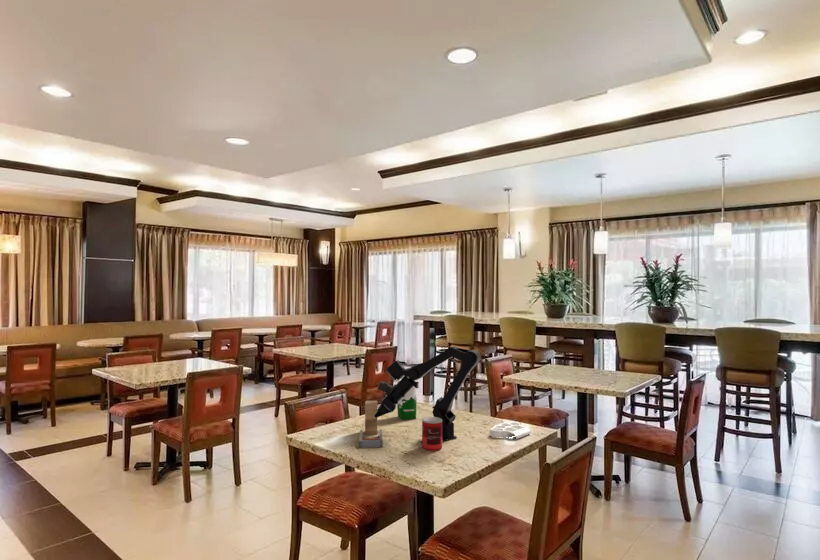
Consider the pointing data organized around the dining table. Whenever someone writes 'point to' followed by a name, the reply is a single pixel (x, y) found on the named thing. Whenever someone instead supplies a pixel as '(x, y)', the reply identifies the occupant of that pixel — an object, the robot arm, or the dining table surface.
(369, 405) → the block
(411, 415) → the milk carton
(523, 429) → the white egg tray
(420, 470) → the dining table surface
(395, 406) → the robot arm
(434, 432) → the canned food
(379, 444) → the gray u-shaped bracket
